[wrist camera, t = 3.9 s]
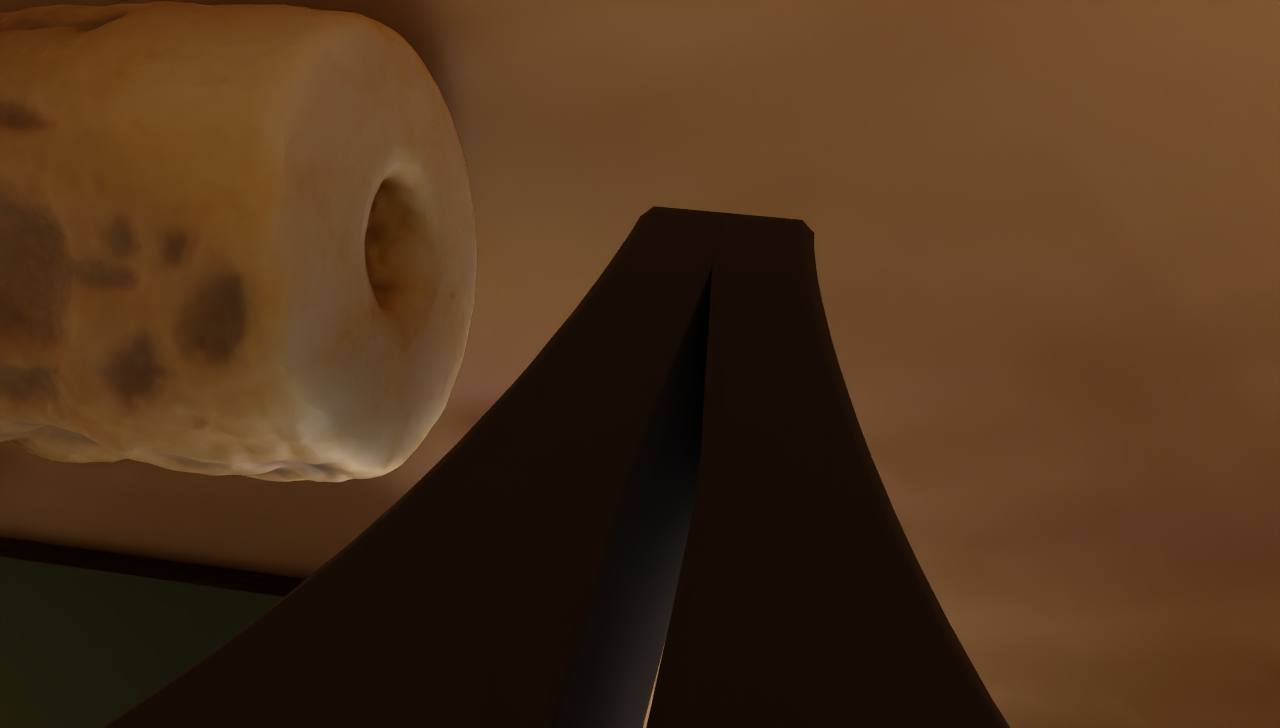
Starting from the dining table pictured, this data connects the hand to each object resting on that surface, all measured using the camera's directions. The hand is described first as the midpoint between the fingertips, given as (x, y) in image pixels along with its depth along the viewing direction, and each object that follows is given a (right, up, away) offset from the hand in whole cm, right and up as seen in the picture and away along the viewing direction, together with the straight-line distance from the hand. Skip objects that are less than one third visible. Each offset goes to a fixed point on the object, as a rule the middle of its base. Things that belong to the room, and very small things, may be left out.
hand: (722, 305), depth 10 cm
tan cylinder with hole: (-6, +2, +2) cm, 7 cm away
